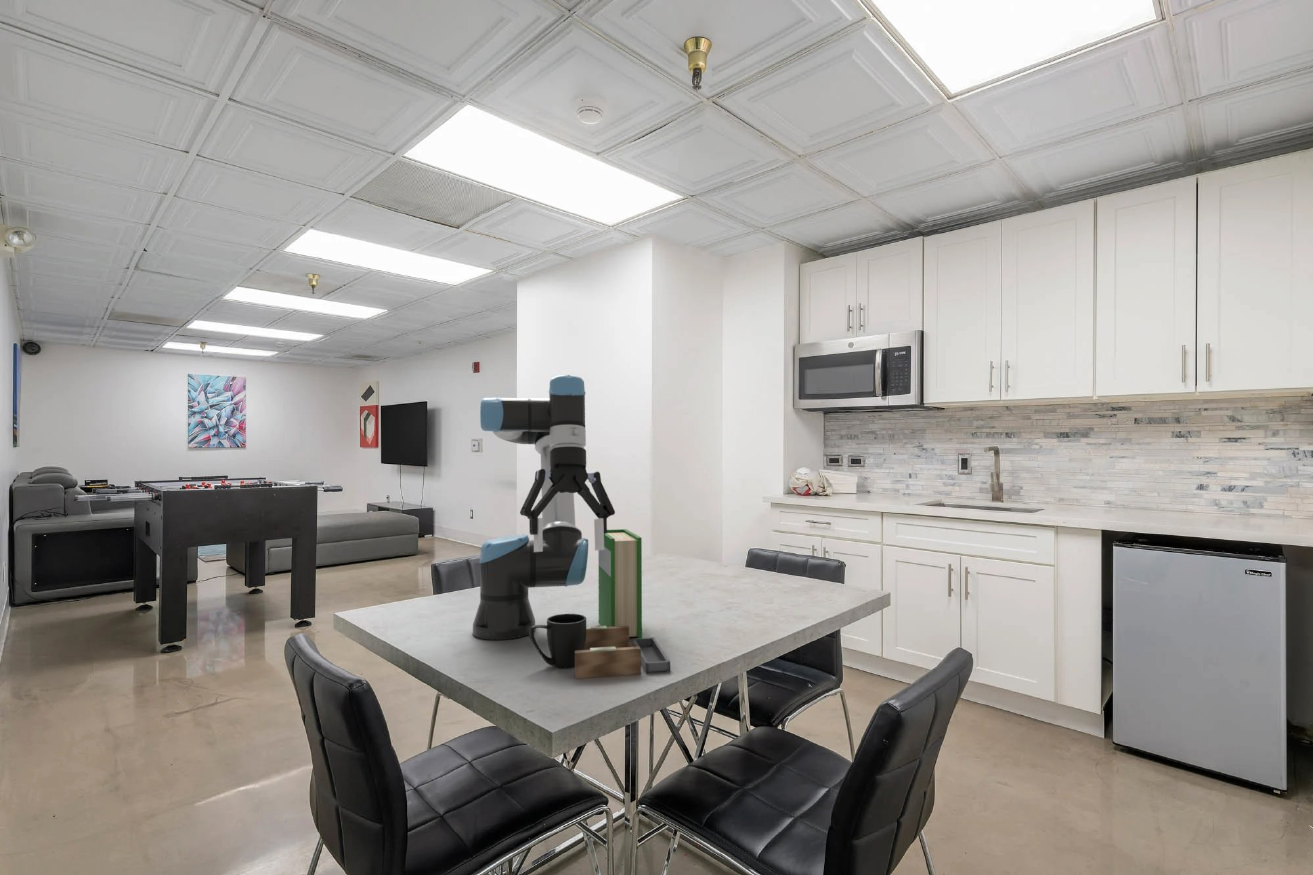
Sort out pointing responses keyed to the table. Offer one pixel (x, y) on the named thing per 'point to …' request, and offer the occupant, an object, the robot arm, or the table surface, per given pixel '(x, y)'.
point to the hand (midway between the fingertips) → (569, 551)
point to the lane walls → (607, 653)
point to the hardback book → (621, 581)
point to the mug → (563, 639)
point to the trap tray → (652, 655)
